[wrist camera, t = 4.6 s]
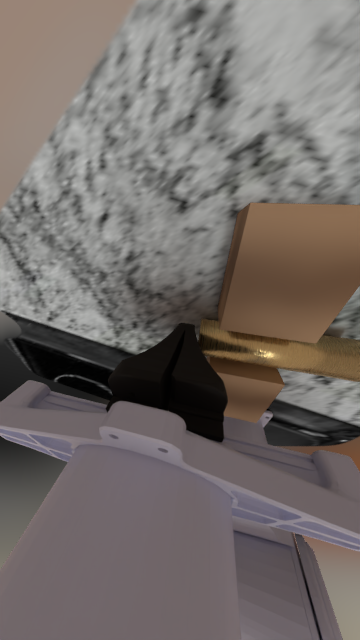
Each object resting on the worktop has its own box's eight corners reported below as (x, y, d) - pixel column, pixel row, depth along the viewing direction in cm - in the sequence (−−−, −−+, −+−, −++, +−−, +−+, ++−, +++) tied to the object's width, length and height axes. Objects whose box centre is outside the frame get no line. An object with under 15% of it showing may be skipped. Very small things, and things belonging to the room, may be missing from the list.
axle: (349, 331, 11) (392, 361, 9) (325, 358, 13) (355, 390, 10) (202, 312, 13) (200, 332, 10) (198, 338, 15) (195, 362, 12)
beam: (249, 392, 18) (256, 423, 15) (201, 383, 18) (199, 410, 16) (345, 216, 8) (418, 206, 5) (237, 213, 9) (250, 202, 6)
